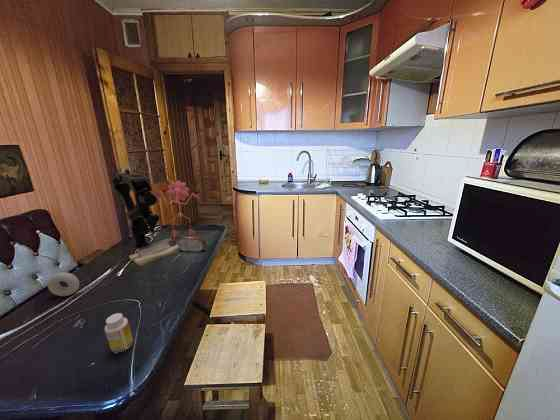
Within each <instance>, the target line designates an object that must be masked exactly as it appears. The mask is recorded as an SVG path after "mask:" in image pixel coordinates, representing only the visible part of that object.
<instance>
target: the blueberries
mask: <svg viewBox="0 0 560 420" xmlns="http://www.w3.org/2000/svg"><path fill="white" fill-rule="evenodd" d="M86 322H87V323H88V321H87V319H86V320H85V319H84V318H83V317H82V318H80V319H79V320H77V321H76V322H75V323H74V324H73V326H74V327H73V329H76V328H78V327H79V330H81V329H80V328H83V327H84V325H85V324H87V323H86ZM85 326H86V325H85ZM84 328H85V327H84ZM84 328H83V329H84Z"/></svg>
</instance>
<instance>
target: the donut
mask: <svg viewBox="0 0 560 420" xmlns="http://www.w3.org/2000/svg"><path fill="white" fill-rule="evenodd" d="M60 282H64V283H66V284H67V286H62V285H61V284H60ZM79 287H80V280H79V278H78V277H77V275H75V274H73V273H70V272H57V273H55V274H54V275H52V276H51V277H50V278H49V279H48V281H47V289H48V290H49V292H51V293H52V294H53V295H55V296H59V297H67V296H71V295H73V294H75V293H76V292H77V291H78V290H79Z"/></svg>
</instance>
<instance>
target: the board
mask: <svg viewBox="0 0 560 420" xmlns="http://www.w3.org/2000/svg"><path fill="white" fill-rule="evenodd" d="M179 251H182V250H181V249H179V247H178V244H177V243H176V244H175V245H174V246H172V247H170V248H167V249H164V250H162V251H159V252H156V253H154V254H151V255H149V256H146V257H143V258H141V257H139V254H138V252H136V253H134V254H130V255H128V258H129V260H131V261H132V262H133V263H135V264H136V265H138V266H139V267H142V266H145V265H148V264H150V263H151V262H154V261H157V260H159V259H162V258H164V257H167V256H168V255H169V256H170V255H171V254H173V253H177V252H179Z"/></svg>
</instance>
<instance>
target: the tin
mask: <svg viewBox="0 0 560 420" xmlns="http://www.w3.org/2000/svg"><path fill="white" fill-rule="evenodd" d="M176 244H178V247H179V249H181V250H180V251H182V252H188V253H189V252H192V253H193V252H194V253H196V252H197V253H200V252H202V251H204V249H205V248H206V246H207V242H206V240H205V239H204V237H201V236H198V235H196V236H195V235H191V236H190V235H183V236H181V237H180V238H179V239H178V240H177V241H176Z"/></svg>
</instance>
